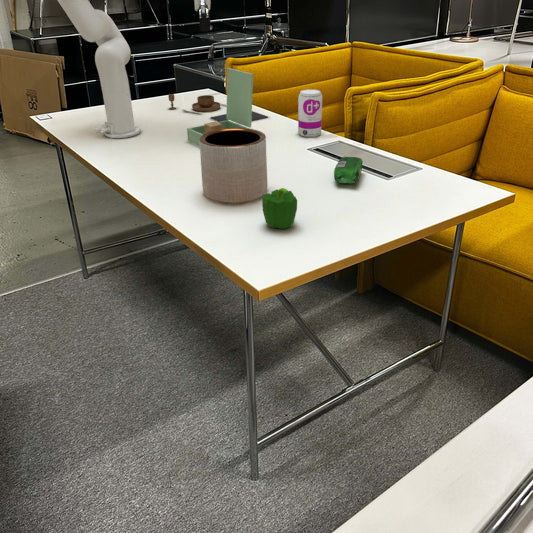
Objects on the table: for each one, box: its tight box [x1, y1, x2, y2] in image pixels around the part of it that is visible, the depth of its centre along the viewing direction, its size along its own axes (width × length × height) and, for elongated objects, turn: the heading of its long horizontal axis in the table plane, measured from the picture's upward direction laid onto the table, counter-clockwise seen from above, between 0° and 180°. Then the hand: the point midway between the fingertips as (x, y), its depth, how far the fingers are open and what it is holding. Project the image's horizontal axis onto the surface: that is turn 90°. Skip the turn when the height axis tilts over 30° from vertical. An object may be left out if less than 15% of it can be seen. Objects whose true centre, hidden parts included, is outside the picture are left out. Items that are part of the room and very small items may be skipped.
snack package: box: [333, 156, 364, 185], centre depth 159 cm, size 7×16×5 cm, turn 164°
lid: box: [225, 67, 254, 129], centre depth 191 cm, size 17×15×1 cm
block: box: [203, 121, 222, 133], centre depth 190 cm, size 4×4×6 cm
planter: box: [199, 127, 268, 205], centre depth 149 cm, size 18×18×16 cm
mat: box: [210, 110, 269, 122], centre depth 220 cm, size 18×14×1 cm
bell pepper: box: [261, 187, 298, 230], centre depth 132 cm, size 8×8×10 cm
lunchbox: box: [186, 120, 250, 146], centre depth 192 cm, size 17×15×5 cm
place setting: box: [167, 93, 227, 115], centre depth 235 cm, size 18×20×6 cm
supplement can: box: [297, 88, 323, 138], centre depth 196 cm, size 8×8×15 cm
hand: (205, 29), depth 186 cm, fingers open, 9 cm apart
